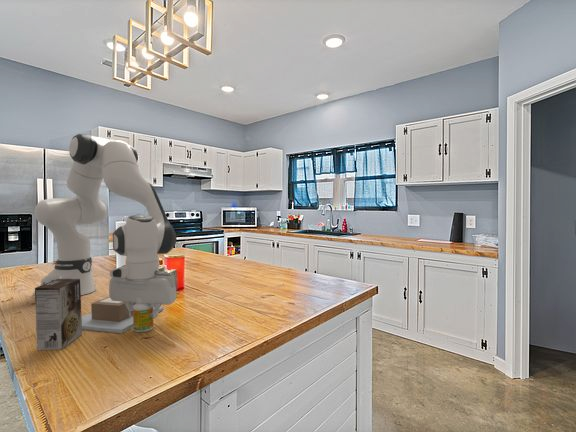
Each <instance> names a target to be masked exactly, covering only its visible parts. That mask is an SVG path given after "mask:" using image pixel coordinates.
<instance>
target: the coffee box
mask: <svg viewBox="0 0 576 432" xmlns="http://www.w3.org/2000/svg"><path fill="white" fill-rule="evenodd" d="M34 292H35V295H34V296H35V297H34V301H35V302H34V303H35V330H36V331H35V333H36V335H35V336H36V350H37V351H43V350H44V351H47V350H51V351H54V350H55V351H56V350H63V349H64V348H65V347H67V346H69V345H70V344H71V343H72V342H74V341H75V340H76V339H77V338H79V337H80V336H82V335H83V329H82V318H81V317H82V298H81V297H82V295H81V291H80V279H56V280H54V281H51V282H49V283H46V284H43V285H41V286H40V285H38V286H37V287H34Z"/></svg>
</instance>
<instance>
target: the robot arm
mask: <svg viewBox="0 0 576 432" xmlns="http://www.w3.org/2000/svg"><path fill="white" fill-rule="evenodd" d="M68 146H69V147H68V149H69V151H68V153H69V157H70V158H71V159H72V160H73V162H72V164H71V167H70V171H69V173H68V176H67V179H66V187H67V188H68V190H69V191H70V192H72V193H73V194H74V195H76V196H75V197H73V198H69V197H67V198H66V197H63V198H61V197H60V198H59V197H58V198H57V197H54V198H47V199H42V200H40V201H39V202H37V204H36V205H35V208H34V217H35V219H36V221H37V222H38V223H39V224H41V225H42V226H44V227H46V228H47V229H49V231H50V233H52V235H53V236H54V239H55V243H56V248H57V250H56V251H57V260H54V261H53V262H52V265H54V267H53V268H54V269H53V270H51V271H50V272H49V273H48V274H46V275H45V276H44V277H42V278H41V281H40V285H39V286H41V285H43V284H46V283H49V282H51V281H54V280H56V279H80V291H81V296H83V295H88V294H91V293H93V292H95V291H96V290H97V289H96V285H95V282H94V276H93V269H92V266H93V263H92V262H93V259H92V257H91V241H90V239H89V237H87V236H86V235H85V234H83V233H80V232H79V231H78V229H77V227H76V226H80V225H82V226H83V225H93V224H97V223H100V222H102V221H104V220H105V219H106V217H107V213H108V212H107V211H108V210H107V206H106V205H105V203H104V202H103V200H101V199H100V196H99V192H100V188H101V185H102V183H103V182H104V184H105V187H106V188H107V189H108V190H109V191H110V192H112V193H113V194H115V195H118V196H120V197H122V198H127V199H130V200H133V201H136V202H138V203H140V204H141V205H143V206H144V207H145V208H146V210H147V213H148V214H133V215H129V216H128V217H127V218H126V221H125V222H126V224H124V225H122V226H119V227H117V228H116V229H115V230H114V231H113V233H112V249H113V251H114V252H115V253H116V254H118V255H120V256H123V257H126V258H125V264H124V265H121V266H119V267H117V268H114V269H110V271H109V276H110V277H111V278H110V280H109V283H108V284H109V286H108V292H109V293H108V295H109V296H110V298H111V300H112V301H124V302H125V305H126V307H127V309H128V310H129V316H133V306H134V305H133V303H134V302H136V300H137V298H141V301H142V303H150V304H153V307H154V309H153V311H152V312H150V318H153V319H156V318H158V316H159V315H158V314H159V313H158V310H159V308H160V307H162V306H163V305H164V306H165V305H166V306H169V305H171V304H174V303H175V301H176V300H177V298H178V293H177V291H176V286H175V276H174V275H173V274H171V272H162V271H159V267H160V265H159V264H160V262H159V261H160V259H159V255H163V254H165V255H166V254H168V253H169V252H171V251H172V250H173V248H175V246H176V244H177V235H176V231H175V229H174V227H173V225H172V224H171V222H170V221H169V218H168V217H167V214H166V212H165V209H164V208H163V205H162V202H161V200H160V198H159V195H158V194H157V191H156V189H155V188H154V186H153V184H151V183H150V182H148V181H147V180H146V179H145V178H144V177H143V175H142V174H141V173H140V169H139V165H138V159H139V157H138V152H137V150H136V148H135V147H134V146H132V145H130V144H128V143H127V142H125V141H123V140H120V139H118V140H117V139H116V140H114V139H112V138H105V137H101V136H95V135H90V134H86V133H77V134H76V135H75V136H73V137H72V138H71V140H70V143H69V145H68ZM171 275H172V276H171ZM32 296H35V291H33V292H32ZM109 296H108V297H109Z"/></svg>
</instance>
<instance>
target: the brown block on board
mask: <svg viewBox="0 0 576 432" xmlns="http://www.w3.org/2000/svg"><path fill="white" fill-rule="evenodd" d="M135 304H136V302H134V303H133V305H135ZM90 306H91V307H90V308H91V312H89V313H87V314H84V315H83V316H82V315H81V318H82V330H85V331H86V330H88V331H95V332H97V331H98V332H107V333H115V334H117V333H118V334H124V333H126V332H127V331H129V330H130V329H132V328H133V316H129V310H128V309H127V307H126V305H125V302H124V301H112V300H111V298H110V296H106V297H104V298H102V299H100V300H97V301H94V302H91V304H90ZM164 308H165V307H164V306H160V308H159V310H158V314H159V313H160V312H162V311H164ZM153 309H154V307H153Z"/></svg>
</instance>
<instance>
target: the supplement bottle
mask: <svg viewBox="0 0 576 432" xmlns="http://www.w3.org/2000/svg"><path fill="white" fill-rule="evenodd" d="M152 311H153V304H150V303H142V301H141V298H137V300H136V304H135V305H134V306H133V327H132V328H133V331H134V332H136V333H146V332H148V331H151V330H153V328H154V318H150V312H152Z"/></svg>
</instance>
